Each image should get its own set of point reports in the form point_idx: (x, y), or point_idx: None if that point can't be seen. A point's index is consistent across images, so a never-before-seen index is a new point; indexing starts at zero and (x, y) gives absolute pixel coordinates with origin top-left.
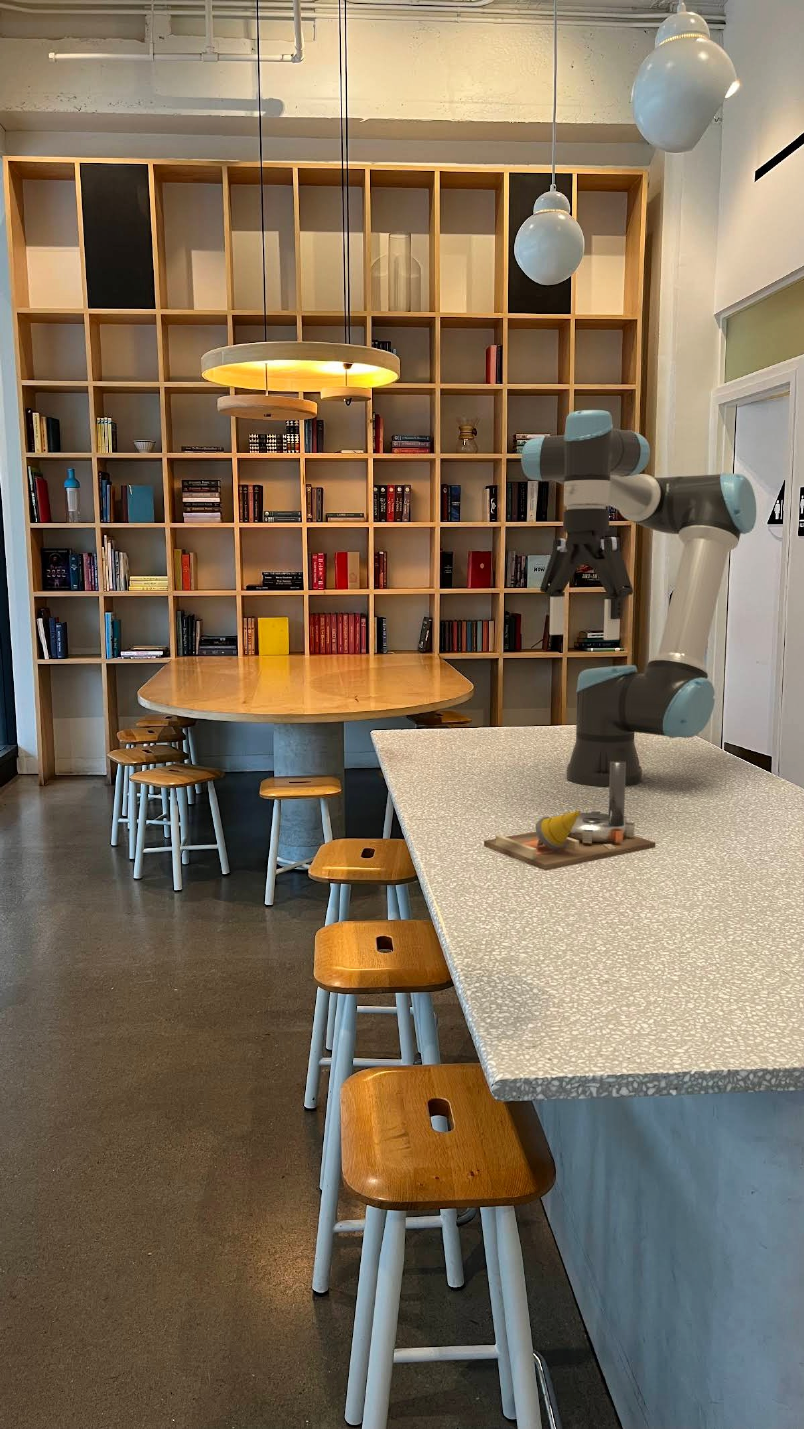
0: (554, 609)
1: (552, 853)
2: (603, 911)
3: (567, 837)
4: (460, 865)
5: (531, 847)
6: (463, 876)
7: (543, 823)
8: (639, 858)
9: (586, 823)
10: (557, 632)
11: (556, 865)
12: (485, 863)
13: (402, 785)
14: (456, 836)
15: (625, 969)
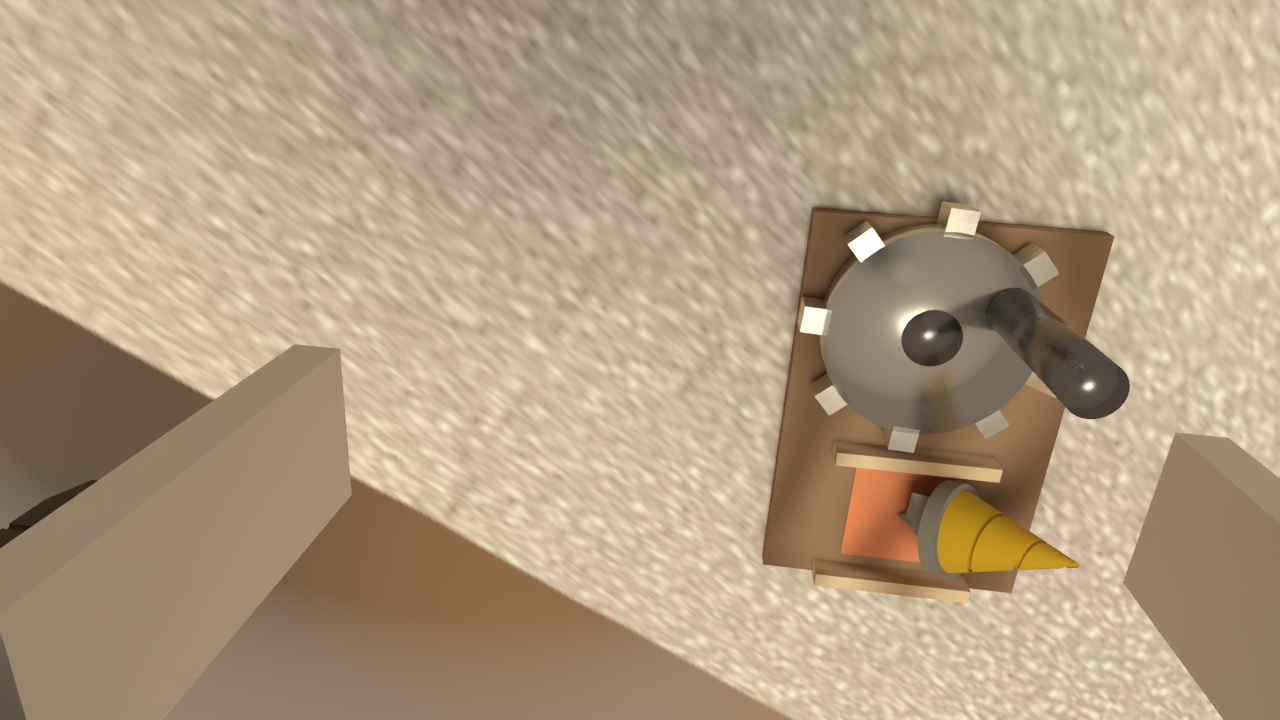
0: (191, 655)
1: None
2: None
3: (957, 469)
4: (837, 673)
5: (953, 593)
6: (899, 712)
7: (951, 571)
8: (1121, 339)
9: (937, 370)
10: (336, 445)
11: None
12: (863, 630)
13: (59, 303)
14: (644, 542)
15: None
